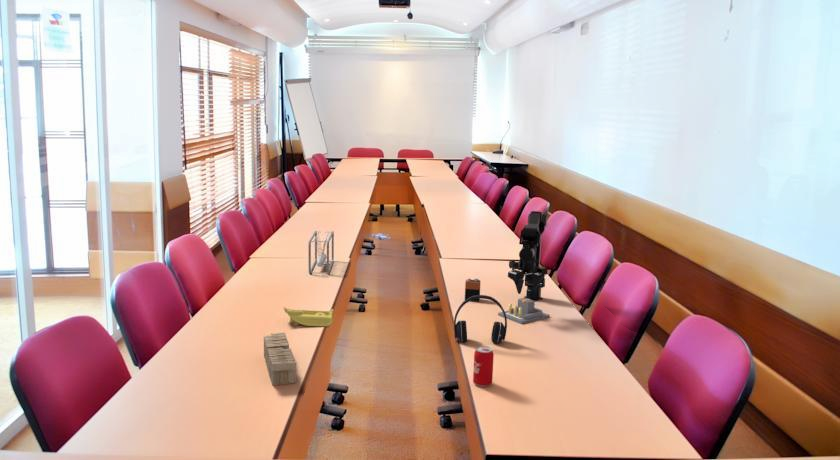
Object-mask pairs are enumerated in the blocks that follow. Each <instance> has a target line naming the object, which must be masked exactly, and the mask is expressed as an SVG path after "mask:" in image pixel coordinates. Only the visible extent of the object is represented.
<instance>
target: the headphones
mask: <svg viewBox="0 0 840 460" xmlns="http://www.w3.org/2000/svg"><path fill="white" fill-rule="evenodd" d="M473 299H485V300H490V301H491V302H493V303H495V304H496V305H497V306H498V307H499V308H500V309H501V312H503V314H504V317H505V318H504V317H503V318H504V323H503V322H502V321H494V322H493V326H492V328H491V338H490V339H491V342H492V343H496V344H500V343H501V342H502V341H505V339H506V335H507V328H508V321H507V320H508V319H507V318H506V314H505V311H506V310H504V308H503V306H502V304H501V303H500V302H499V301H498V300H497V299H495V298H494V297H492V296H490V295H484V294H480V295H475V296H471V297H469V298H468V299H466V300H465V299H464V301H463V302H462V303H461V304H460V305H459V307H458V308H457V310H456V313H455V315H454V317H453V318H454V319H453V330H454V339H455V340H456V339H457V341H458V342H461V343H462V342H463V343H464V342H467V341H468V330H467V328H468V327H467V321H466V320H458V321H457V318H458V315H459V312H460V311H461V309H462V308H463V307H464V306H465V305H466V304H467V303H469V302H472V301H471V300H473Z"/></svg>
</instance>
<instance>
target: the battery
mask: <svg viewBox="0 0 840 460" xmlns="http://www.w3.org/2000/svg"><path fill="white" fill-rule="evenodd" d="M475 295H481V280H480V279H479V278H474V279H471V278H467V279H466V280H465V283H464V301H465V300H466V299H468V298H469V297H471V296H475ZM470 302H480V299H473V300H471V301H470Z"/></svg>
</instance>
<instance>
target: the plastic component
mask: <svg viewBox="0 0 840 460" xmlns="http://www.w3.org/2000/svg"><path fill="white" fill-rule="evenodd" d="M283 311H284V313H286V314H287V315H288V316H289V323H298V324H299V325H302V326H308V327H319V328H320V327H324V328H325V327H330V326H332V324H333V322H334V308H331V310H329V311H326V310H325V311H324V310H307V309H305V310H304V309H289V308H287V307H286V306H283Z"/></svg>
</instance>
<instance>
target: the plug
mask: <svg viewBox="0 0 840 460" xmlns="http://www.w3.org/2000/svg"><path fill="white" fill-rule="evenodd" d="M535 303H536V301H533V300H531V299H527V298H524V297H521V298H518V299H517V307H518V308H517V312H518V313H519V307H521V308H522V314H523V315H527V314H531V313H534V307H535V305H536V304H535Z"/></svg>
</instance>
